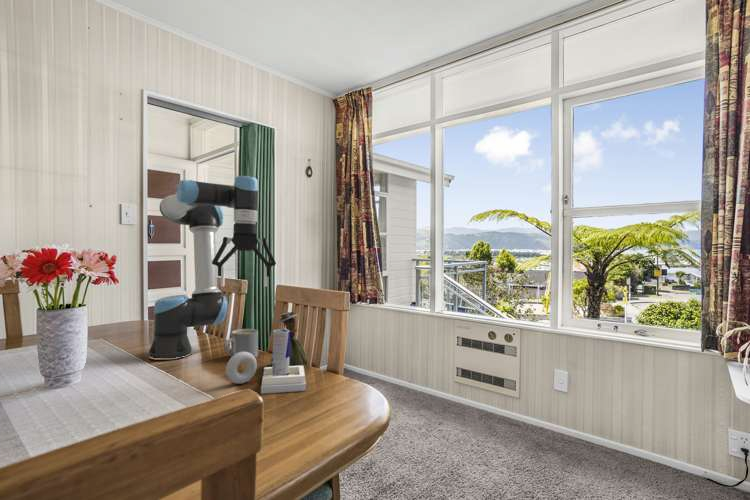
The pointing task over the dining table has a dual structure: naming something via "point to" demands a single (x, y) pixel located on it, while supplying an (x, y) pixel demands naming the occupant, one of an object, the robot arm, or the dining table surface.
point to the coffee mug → (243, 342)
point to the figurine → (293, 341)
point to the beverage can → (281, 352)
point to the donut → (233, 364)
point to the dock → (284, 381)
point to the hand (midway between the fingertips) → (244, 286)
